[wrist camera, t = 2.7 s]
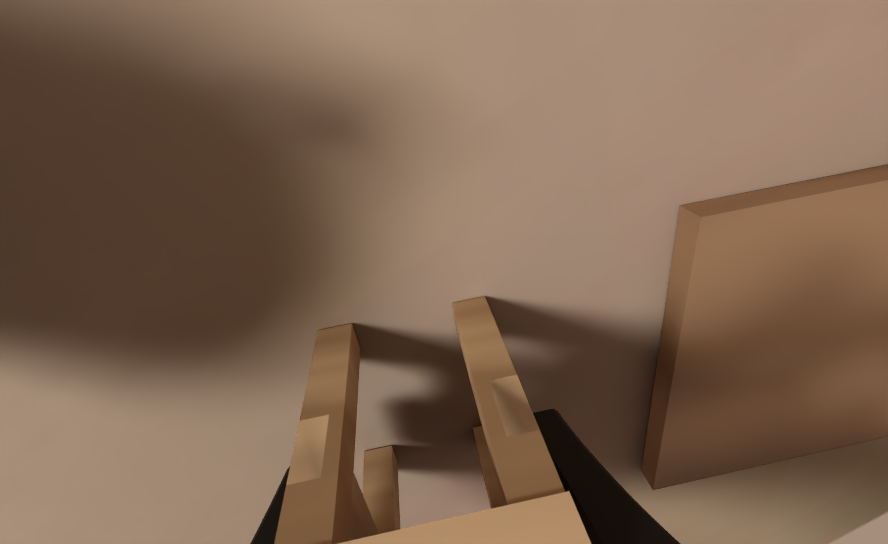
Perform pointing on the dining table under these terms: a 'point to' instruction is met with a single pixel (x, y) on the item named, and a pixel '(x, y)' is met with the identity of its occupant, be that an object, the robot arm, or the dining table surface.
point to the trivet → (773, 328)
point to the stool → (377, 510)
